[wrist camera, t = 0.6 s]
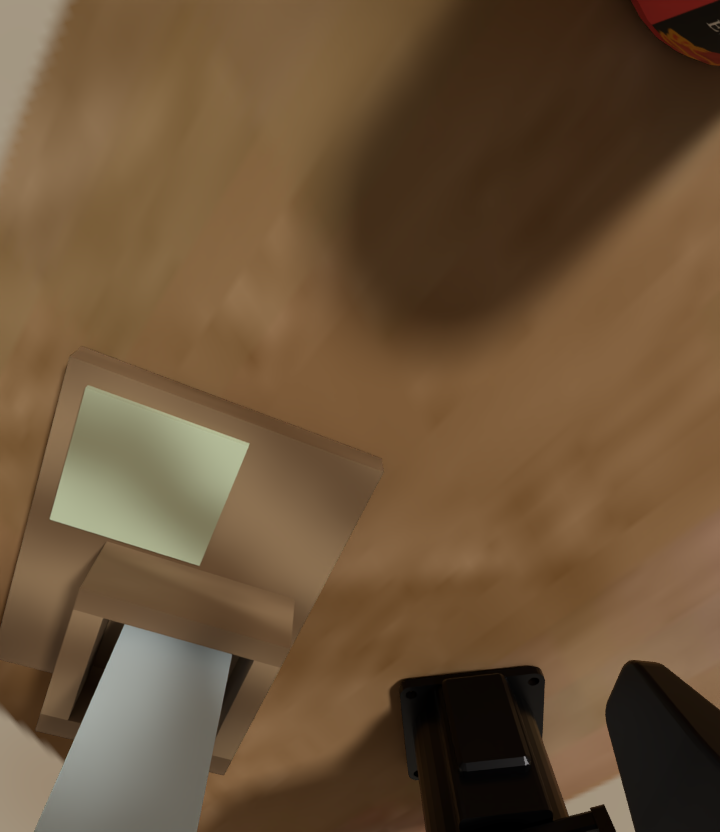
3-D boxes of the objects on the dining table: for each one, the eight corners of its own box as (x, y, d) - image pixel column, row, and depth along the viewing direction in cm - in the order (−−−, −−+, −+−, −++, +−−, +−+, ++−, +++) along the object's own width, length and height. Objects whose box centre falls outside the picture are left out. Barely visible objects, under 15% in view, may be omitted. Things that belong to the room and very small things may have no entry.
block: (208, 684, 25) (146, 949, 17) (114, 658, 24) (0, 924, 16) (239, 617, 23) (188, 872, 15) (140, 588, 22) (29, 841, 14)
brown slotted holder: (253, 704, 27) (242, 779, 24) (5, 638, 24) (-44, 712, 21) (381, 458, 22) (390, 512, 18) (82, 346, 19) (32, 385, 16)
